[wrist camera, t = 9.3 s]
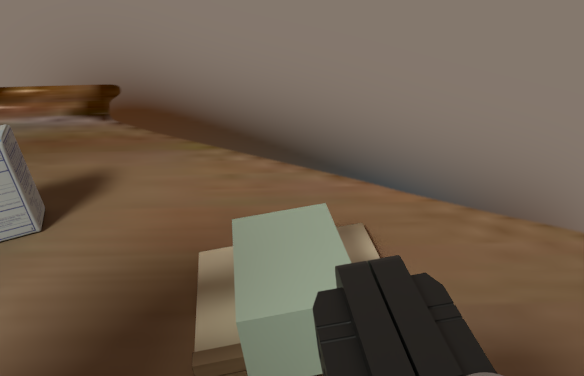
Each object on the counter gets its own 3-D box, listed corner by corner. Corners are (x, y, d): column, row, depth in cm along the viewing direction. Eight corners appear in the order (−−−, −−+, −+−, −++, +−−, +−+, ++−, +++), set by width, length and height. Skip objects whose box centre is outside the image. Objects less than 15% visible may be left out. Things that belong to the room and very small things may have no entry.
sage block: (366, 297, 23) (325, 203, 32) (236, 322, 22) (231, 219, 31) (372, 364, 24) (331, 256, 33) (250, 387, 24) (242, 272, 33)
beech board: (415, 336, 27) (415, 322, 27) (195, 380, 26) (191, 366, 26) (362, 229, 37) (361, 218, 36) (200, 259, 36) (197, 247, 36)
